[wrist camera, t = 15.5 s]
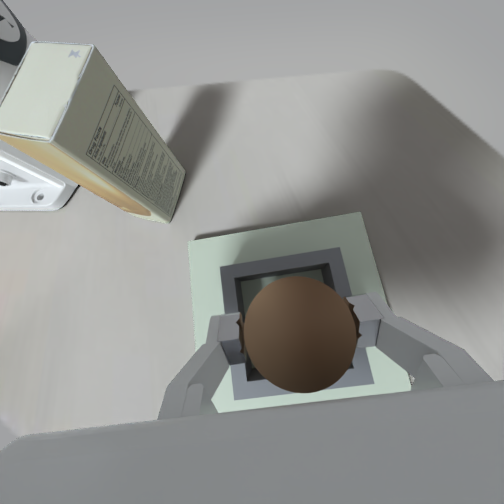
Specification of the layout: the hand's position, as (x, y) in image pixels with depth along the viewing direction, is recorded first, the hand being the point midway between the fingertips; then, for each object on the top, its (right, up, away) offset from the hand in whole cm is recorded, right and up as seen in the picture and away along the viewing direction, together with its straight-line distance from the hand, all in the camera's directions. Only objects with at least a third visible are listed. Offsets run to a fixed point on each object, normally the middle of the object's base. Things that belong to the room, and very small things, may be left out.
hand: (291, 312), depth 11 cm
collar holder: (+1, -3, +8) cm, 8 cm away
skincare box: (-12, +9, +12) cm, 19 cm away
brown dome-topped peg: (+1, -2, +7) cm, 7 cm away
